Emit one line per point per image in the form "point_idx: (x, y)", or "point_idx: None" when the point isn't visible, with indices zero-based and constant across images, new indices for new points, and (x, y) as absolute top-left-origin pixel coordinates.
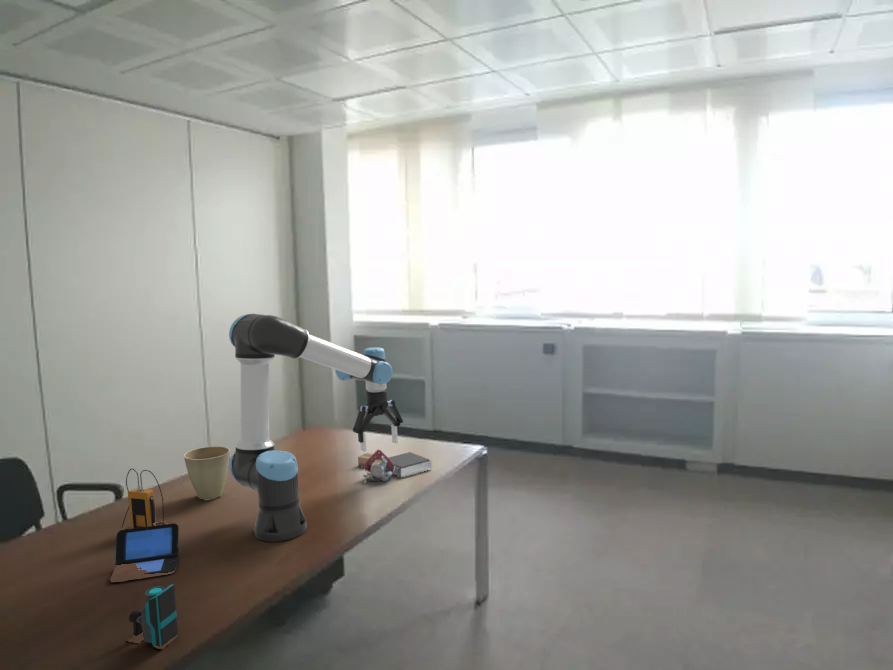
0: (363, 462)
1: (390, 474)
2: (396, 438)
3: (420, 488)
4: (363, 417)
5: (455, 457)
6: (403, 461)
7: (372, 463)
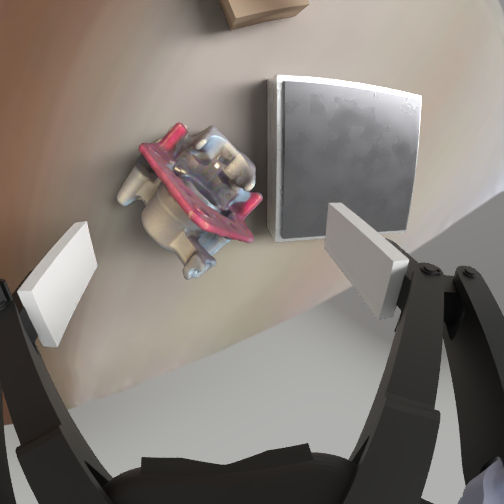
0: (224, 4)
1: (215, 252)
2: (340, 264)
3: (257, 332)
4: (5, 475)
5: (480, 179)
6: (333, 182)
7: (263, 19)
